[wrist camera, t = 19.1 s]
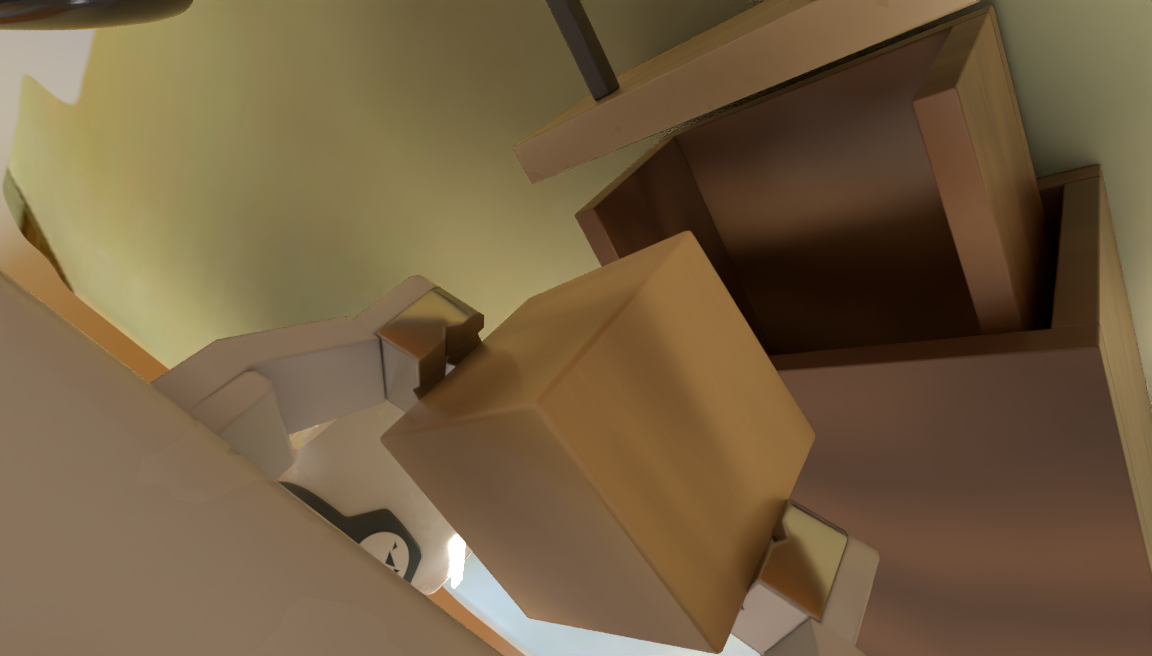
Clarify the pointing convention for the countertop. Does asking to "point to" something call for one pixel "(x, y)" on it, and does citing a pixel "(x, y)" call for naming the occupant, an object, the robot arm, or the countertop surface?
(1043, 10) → the countertop surface
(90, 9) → the dark egg ornament
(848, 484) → the cabinet
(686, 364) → the block
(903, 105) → the drawer
